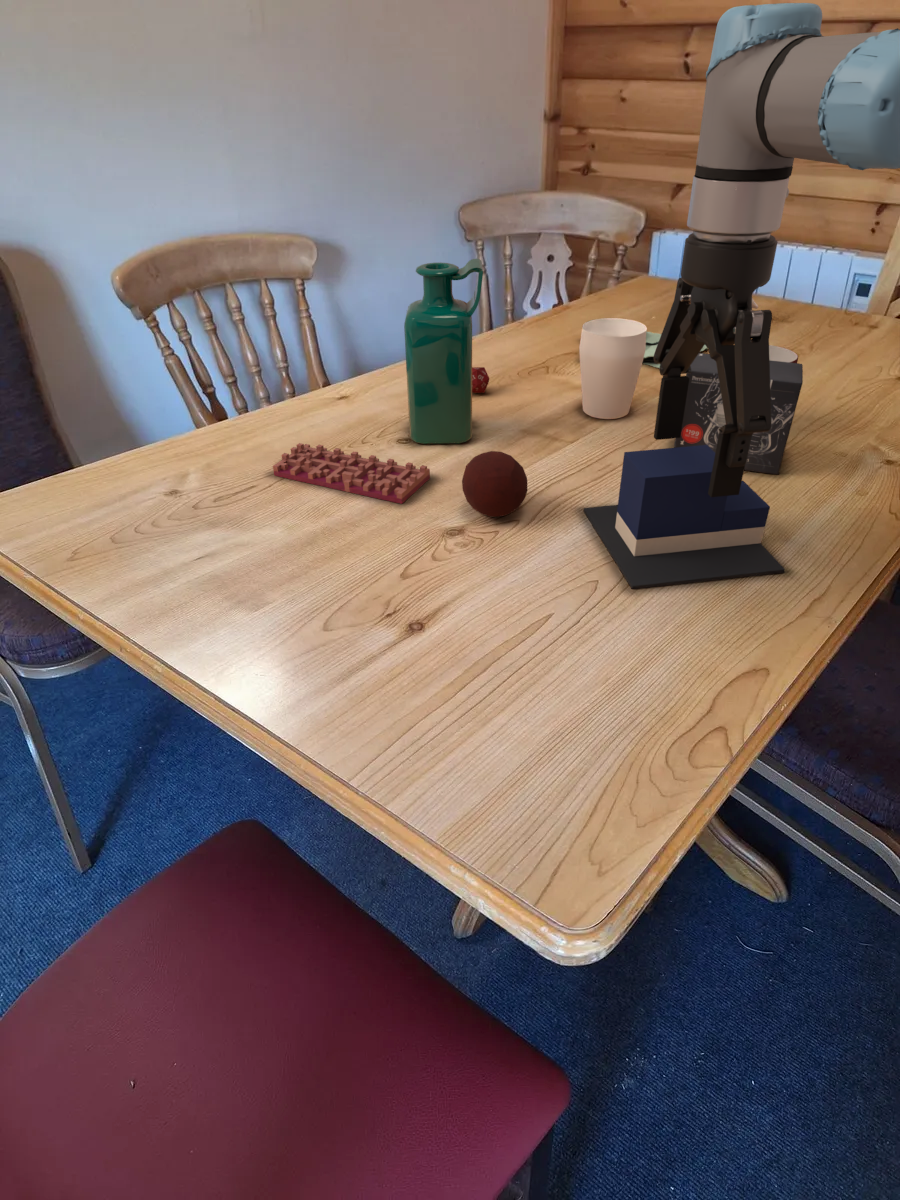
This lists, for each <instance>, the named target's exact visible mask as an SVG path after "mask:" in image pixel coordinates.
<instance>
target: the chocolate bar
mask: <svg viewBox="0 0 900 1200" xmlns="http://www.w3.org/2000/svg"><path fill="white" fill-rule="evenodd" d="M280 456H281V460H279V461H278V462H277V463H275V464H273V465H272V469H273V476H275V477H280V478H283V479H284V478H285V479H289V480H293V481H297V482H301V483H307V484H310V485H314V486H315V485H316V486H320V487H324V488H328V489H334V490H338V491H342V492H347V493H352V494H355V495H360V496H365V497H369V498H373V499H379V500H383V501H387V502H390V503H397V504H401V505H402V504H404V503H405V502H406V501H407V500H408V499H410V497H411V496H413V495H414V494H415V493H416V492H417V491H418V490H419V489H420V488H421V487H423V485H425V484H426V483H427V482H428V481H429V480H431V470H430V468H428V466H427V465H423V464H422V465H421V466H419V468H417V467H416V465H414V463H413V462H407V463H405V465H399V464H398V461H395V458H388V459H387V460H386V462H385V461H380V458H378V457H377V455H375V454H371V455H369V456H368V458H365V457H362V454H359V452H358V451H352V452H351V453H350V454H346V453H345V451H344V450H342V449H341V448H338V447H336V448H334V449H333V451H331V450H328V448H327V447H324V444H318V445H316V446H315V447H311V444H309V443H305V444H304V443H301V442H299V443H297V444H296V446H293V447H291V448H290V454H289V453H287V452H284V453H282V454H281V455H280Z"/></svg>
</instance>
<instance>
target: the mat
mask: <svg viewBox="0 0 900 1200" xmlns="http://www.w3.org/2000/svg"><path fill="white" fill-rule="evenodd" d="M617 508H618V504H612V505H601V506H593V507H592V506H590V507H583V509H582V510H583V513H584V514H585V516H586V517H587V519H588V521H589V522H590V524H591V525H592V528H593V529H594V530H595V532H596V533H597V536H598V537H599V539H600V541H601V542H602V543H603V546H604V547H605V548H606V550H607V552H608V553H609V556H611V558H612V560H613V561H614V563H615V564H616V567H618V569H619V571H620V572H621V574H622V575H623V578H624V579H625V581H626V582H627V584H628V585H629V587H630V588H631V590H639V589H647V588H655V587H665V586H673V585H674V586H675V585H683V584H692V583H700V582H701V583H702V582H709V581H710V582H711V581H718V580H728V579H737V578H738V579H739V578H748V577H756V576H766V575H774V574H783V573H784V574H785V571H786V569H785V567H784V566H783V565H781V563H780V562H779V561H778V560H777V559H776V558H775V557H774V556H773V555H772V554H771V552H769V550H768V549H767V548H766V547H765V546H764V545H763V544H762V542H761V543H758V544H748V545H739V546H729V547H720V548H710V549H701V550H691V551H681V552H672V553H662V554H653V555H643V556H634V555H633V554H632V552H631V551H630V549H629V548H628V546H627V545H626V543H625V542H624V540H623V539H622V537H621V536H620V534H619V533H618V531H617V530H616V528H615V525H616V517H617Z"/></svg>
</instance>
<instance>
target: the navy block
mask: <svg viewBox="0 0 900 1200" xmlns="http://www.w3.org/2000/svg"><path fill="white" fill-rule="evenodd" d="M714 458H715V452H714V451H713V450H712V449H711V448H710V447H709V446H708V445H700V446H689V447H677V448H674V447H667V448H656V449H647V450H646V449H645V450H643V449H642V450H632V451H624V452H623V458H622V468H621V475H620V485H619V493H618V501H617V505H618V508H617V517H616V525H615V528H616V530H617V531H618V533H619V534H620V536H621V537H622V539H623V540H624V542H625V543H626V545H627V546H628V548H629V549H630V551H631V552H632V554H633V555H634V556H643V555H653V554H662V553H672V552H681V551H691V550H701V549H710V548H720V547H729V546H739V545H748V544H758V543H761V544H762V541H763V537H764V533H765V529H766V525H767V521H768V517H769V514H770V513H769V512H770V509H771V506H770V505H769V504H768V503H767V502H766V501H765V500H764V499H763V498H762V497H761V496H760V495H759V494H758V493H757V492H756V491H754V490H753V489H752V488H751V487H750V485H749V484H747V483H746V482H745V481H744V480H742V482H741V487H740V491H739V495H731V496H720V497H710V495H709V494H708V490H709V485H710V480H711V474H712V469H713V463H714Z"/></svg>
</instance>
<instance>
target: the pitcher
mask: <svg viewBox="0 0 900 1200" xmlns="http://www.w3.org/2000/svg"><path fill="white" fill-rule="evenodd" d="M415 273H416V274H418V276H421V277H422V283H423V285H422V286H423V295H422V298H421V299H417V300H415V301H413V302H411V303H410V304H409V305H408V306H407V309H406V314H405V318H404V323H403V326H404V329H403V330H404V350H405V369H406V370H405V371H406V388H407V391H406V393H407V409H408V412H407V413H408V424H409V425H408V428H409V430H408V431H409V438H410V440H412V441H413V442H414V443H416V444H421V445H437V444H439V445H441V444H444V445H445V444H448V445H449V444H463V443H466V442H468V441H470V440H471V439H472V437H473V393H472V367H473V317H472V316H473V315H474V313H475V311H476V310H477V308H478V306H479V303H480V300H481V293H482V285H483V276H484V270H483V261H482V259H480V258H472V259H470V260H469V261H467V262H466V263H465V265H464V266H463V267H461V268H459V266H457V265H456V264H453V263H449V262H428V263H427V262H426V263H424V264H420V265H418V266H417V267H416V268H415ZM472 273H476V283H475V289H474V292H473V295H472V297H471V298H470V300H469V301H468V302H467V301H464V300H462V299H458V298H455V297H454V294H453V281H460V280H461V281H462V280H464V279H466V278H468V276H470V274H472Z"/></svg>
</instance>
